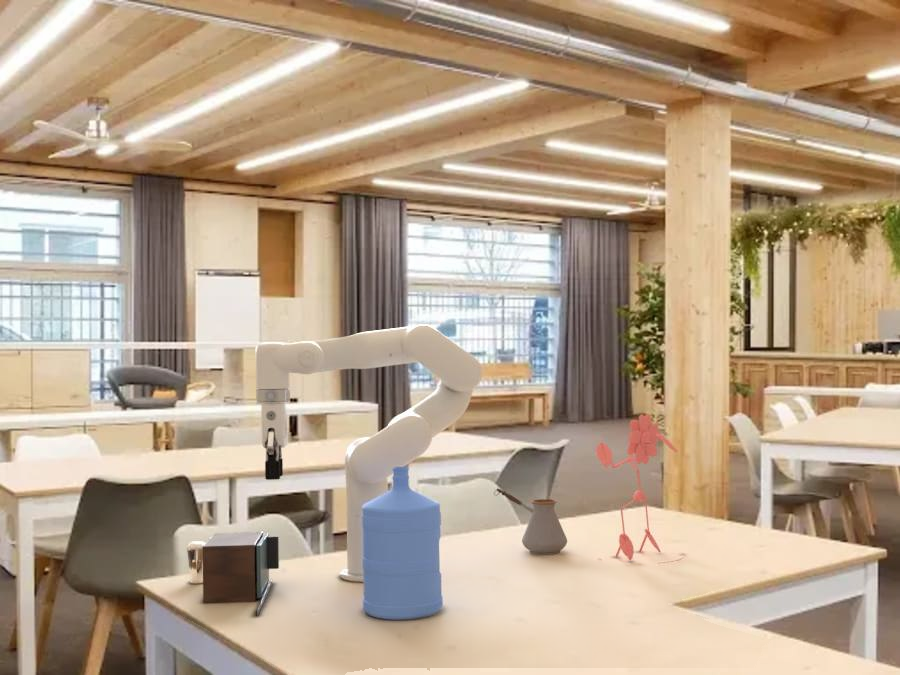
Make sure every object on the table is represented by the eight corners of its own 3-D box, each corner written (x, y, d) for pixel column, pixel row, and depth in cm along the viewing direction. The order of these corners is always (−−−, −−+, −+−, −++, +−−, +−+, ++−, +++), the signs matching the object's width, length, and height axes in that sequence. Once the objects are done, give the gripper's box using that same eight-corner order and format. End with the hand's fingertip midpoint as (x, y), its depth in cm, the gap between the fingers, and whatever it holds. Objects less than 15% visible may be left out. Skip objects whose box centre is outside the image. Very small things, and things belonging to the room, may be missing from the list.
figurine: (590, 561, 237) (587, 416, 238) (657, 547, 254) (653, 410, 255) (641, 571, 225) (637, 418, 226) (707, 555, 242) (704, 412, 243)
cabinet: (272, 583, 220) (271, 531, 220) (257, 616, 192) (256, 556, 192) (215, 585, 219) (214, 533, 219) (192, 618, 191) (191, 558, 191)
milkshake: (206, 584, 220) (205, 539, 220) (183, 584, 221) (183, 539, 221) (214, 580, 224) (214, 536, 225) (193, 579, 225) (192, 535, 226)
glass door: (280, 580, 220) (279, 532, 220) (272, 597, 204) (272, 545, 205) (265, 581, 220) (264, 532, 220) (257, 598, 204) (256, 545, 204)
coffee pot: (576, 550, 251) (575, 491, 251) (550, 558, 242) (548, 496, 243) (510, 541, 265) (509, 485, 265) (482, 548, 256) (481, 490, 257)
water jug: (413, 625, 183) (411, 474, 184) (346, 614, 192) (344, 470, 192) (457, 606, 197) (455, 465, 197) (393, 597, 205) (391, 462, 206)
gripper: (286, 398, 215) (287, 482, 214) (293, 395, 232) (294, 473, 231) (251, 399, 214) (252, 482, 214) (260, 396, 231) (261, 473, 231)
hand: (274, 476), depth 223 cm, fingers open, 5 cm apart
